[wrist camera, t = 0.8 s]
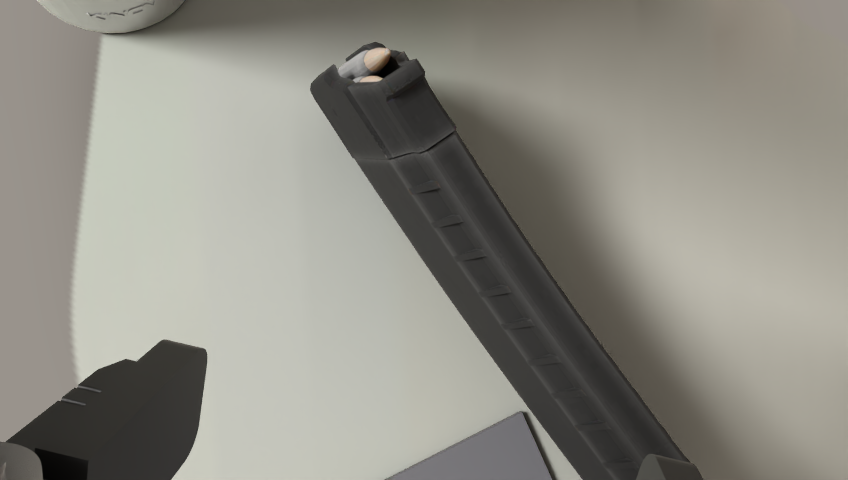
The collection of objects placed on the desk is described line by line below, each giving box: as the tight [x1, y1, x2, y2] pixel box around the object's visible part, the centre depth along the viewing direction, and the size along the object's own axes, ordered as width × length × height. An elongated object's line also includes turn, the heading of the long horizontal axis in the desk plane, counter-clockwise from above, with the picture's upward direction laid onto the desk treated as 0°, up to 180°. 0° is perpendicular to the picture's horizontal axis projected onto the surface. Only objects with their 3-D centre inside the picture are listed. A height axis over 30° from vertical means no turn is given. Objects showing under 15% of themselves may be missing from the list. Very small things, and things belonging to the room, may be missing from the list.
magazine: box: [310, 42, 691, 480], centre depth 30 cm, size 17×3×30 cm
